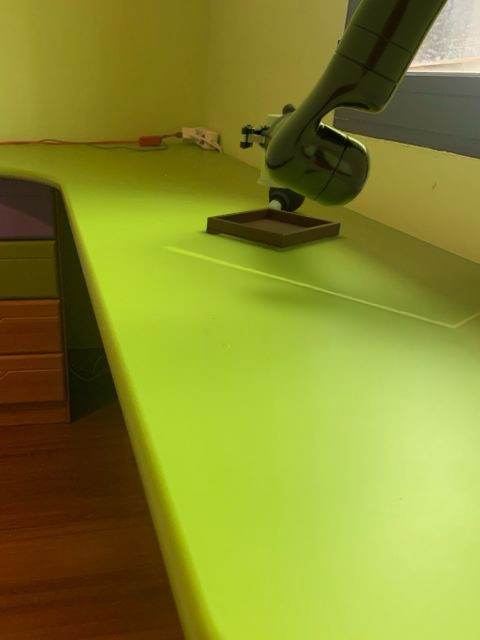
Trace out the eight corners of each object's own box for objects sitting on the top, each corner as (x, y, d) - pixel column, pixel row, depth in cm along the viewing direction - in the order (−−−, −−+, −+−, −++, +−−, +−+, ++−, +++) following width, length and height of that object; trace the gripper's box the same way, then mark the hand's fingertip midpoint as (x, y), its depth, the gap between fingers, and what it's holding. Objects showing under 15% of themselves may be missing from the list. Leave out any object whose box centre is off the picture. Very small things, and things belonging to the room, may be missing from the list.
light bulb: (255, 189, 115) (282, 162, 120) (249, 222, 120) (276, 194, 125) (289, 203, 113) (315, 175, 118) (282, 235, 118) (307, 207, 123)
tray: (266, 221, 114) (268, 207, 113) (338, 237, 106) (341, 222, 105) (205, 232, 103) (207, 217, 102) (280, 251, 96) (283, 235, 94)
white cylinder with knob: (273, 180, 105) (283, 102, 100) (311, 186, 101) (323, 105, 96) (248, 183, 101) (257, 101, 96) (286, 189, 97) (297, 105, 92)
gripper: (362, 117, 84) (338, 110, 98) (243, 109, 84) (237, 103, 99) (350, 182, 87) (328, 166, 102) (236, 174, 87) (231, 158, 102)
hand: (284, 135), depth 100 cm, fingers closed on white cylinder with knob, 6 cm apart
